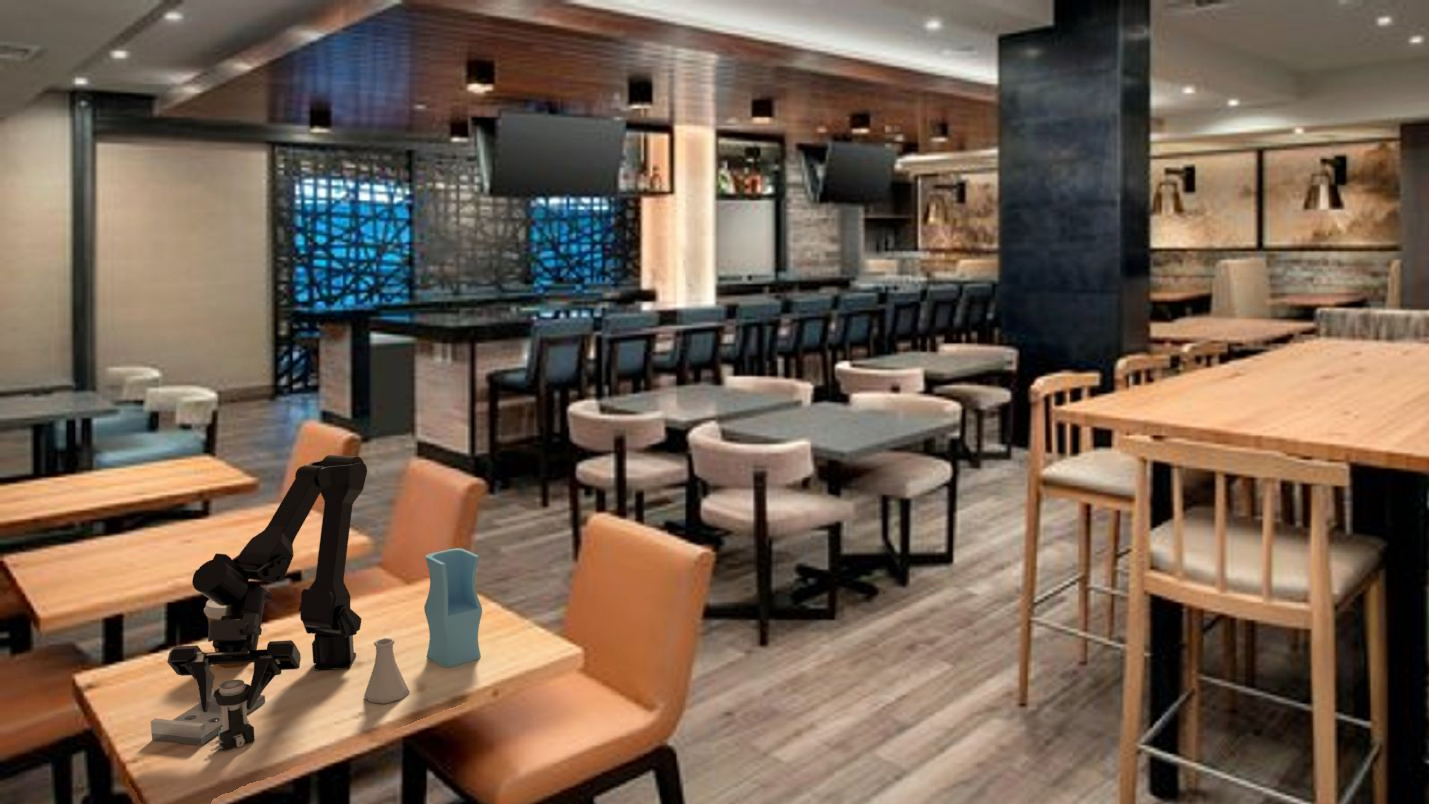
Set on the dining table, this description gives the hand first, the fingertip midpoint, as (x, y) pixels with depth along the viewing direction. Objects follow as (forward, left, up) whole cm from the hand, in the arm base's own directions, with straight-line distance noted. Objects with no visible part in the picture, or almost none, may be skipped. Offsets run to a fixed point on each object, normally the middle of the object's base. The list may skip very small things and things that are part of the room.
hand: (226, 710), depth 161 cm
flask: (-21, -17, -7) cm, 28 cm away
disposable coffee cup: (+10, -37, -7) cm, 39 cm away
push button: (0, -1, -7) cm, 7 cm away
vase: (-31, -33, -7) cm, 46 cm away
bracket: (+6, -11, -7) cm, 14 cm away
